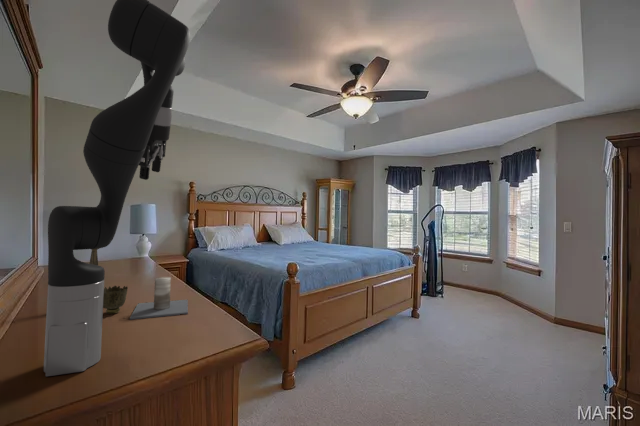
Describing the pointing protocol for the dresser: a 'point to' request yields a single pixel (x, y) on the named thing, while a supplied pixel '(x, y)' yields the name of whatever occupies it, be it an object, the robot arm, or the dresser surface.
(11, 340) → the dresser surface
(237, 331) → the dresser surface
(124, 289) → the cup
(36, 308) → the dresser surface
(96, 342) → the robot arm
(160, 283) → the cream peg
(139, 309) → the slate mat
